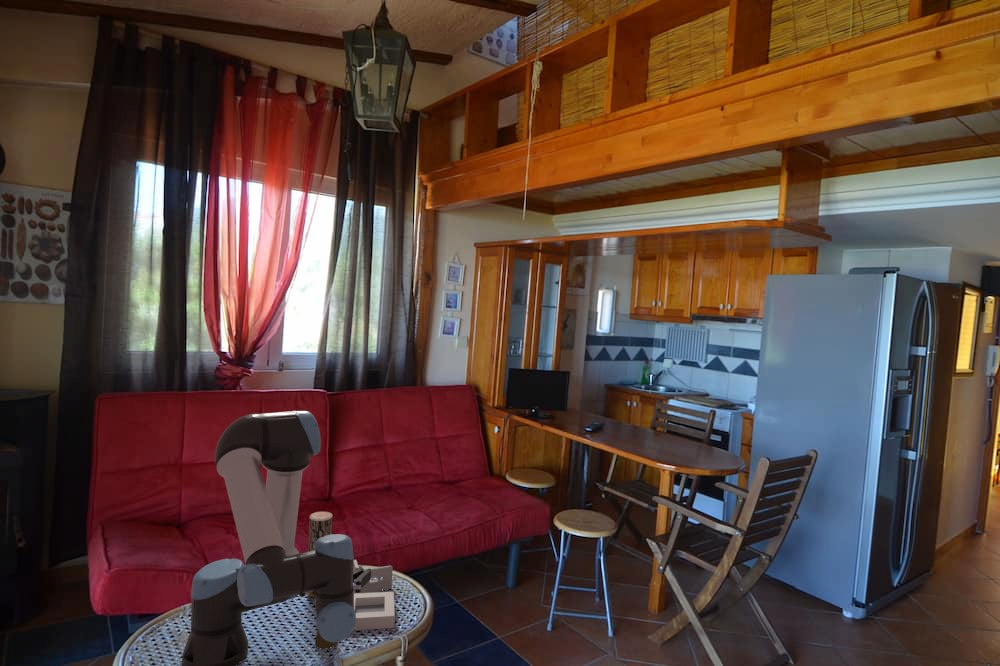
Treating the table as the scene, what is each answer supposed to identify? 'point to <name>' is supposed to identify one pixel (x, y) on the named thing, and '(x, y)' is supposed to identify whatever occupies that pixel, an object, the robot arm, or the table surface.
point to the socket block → (374, 610)
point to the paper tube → (319, 530)
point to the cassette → (379, 580)
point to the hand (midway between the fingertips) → (327, 566)
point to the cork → (323, 642)
